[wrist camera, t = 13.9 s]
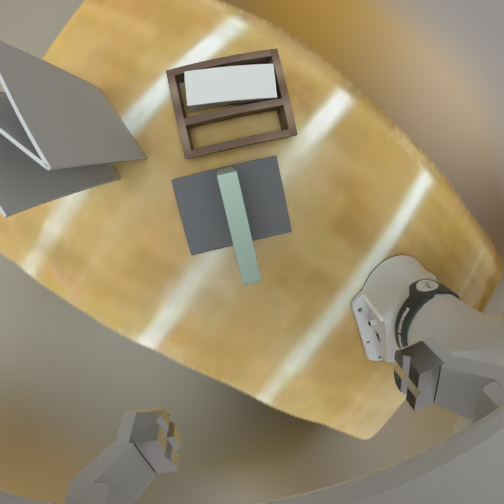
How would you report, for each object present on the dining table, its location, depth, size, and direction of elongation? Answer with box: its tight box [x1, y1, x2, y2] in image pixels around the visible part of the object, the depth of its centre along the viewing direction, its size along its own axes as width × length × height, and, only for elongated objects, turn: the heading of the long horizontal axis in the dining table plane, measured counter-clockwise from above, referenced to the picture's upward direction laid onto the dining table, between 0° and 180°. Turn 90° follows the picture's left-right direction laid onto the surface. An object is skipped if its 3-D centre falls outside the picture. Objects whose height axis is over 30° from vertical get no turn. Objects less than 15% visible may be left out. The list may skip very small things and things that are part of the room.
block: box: [217, 166, 261, 285], centre depth 41 cm, size 2×12×16 cm, turn 12°
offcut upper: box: [184, 64, 277, 109], centre depth 40 cm, size 5×12×3 cm, turn 96°
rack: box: [166, 49, 297, 159], centre depth 42 cm, size 13×16×5 cm
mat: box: [172, 156, 291, 255], centre depth 49 cm, size 12×16×1 cm
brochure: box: [0, 41, 147, 218], centre depth 30 cm, size 14×6×30 cm, turn 33°
